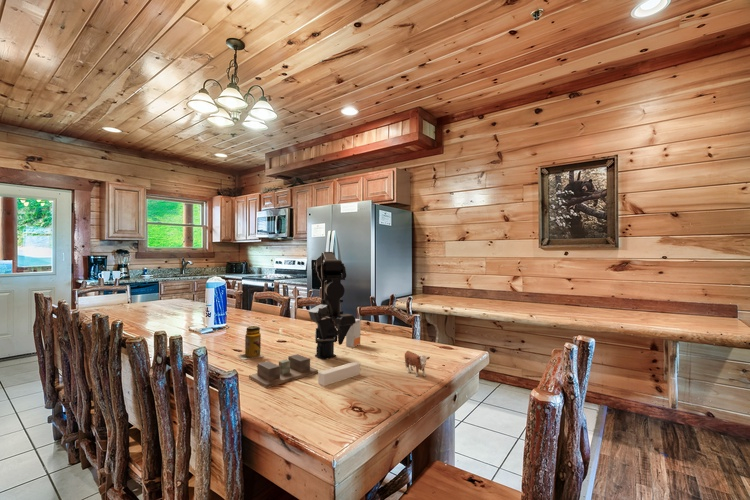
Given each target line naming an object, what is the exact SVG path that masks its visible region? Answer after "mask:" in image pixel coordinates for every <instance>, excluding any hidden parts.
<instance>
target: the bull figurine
mask: <svg viewBox="0 0 750 500" xmlns="http://www.w3.org/2000/svg"><path fill="white" fill-rule="evenodd" d="M430 358H431V357H430V356H426V355H425V354H416V353H415V352H412V351H409V350H406V352H405V353H404V360H405V361H404V365H405V368H406V369H407V373H408V374H411V371H414V369H413V368H415V371H416V373H415V377H417V378H418V377H419V370H420V371H422V376H423V377H424V378H426V377H427V375H426V372H425V371H426V370H425V368H426V367H425V366H426V365H427V364H426V363H427V360H429V359H430Z"/></svg>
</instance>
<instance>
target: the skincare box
mask: <svg viewBox="0 0 750 500" xmlns="http://www.w3.org/2000/svg"><path fill="white" fill-rule="evenodd" d="M361 322H362V321H361V319H359V318H356V323H355V324H353V326H351V327H350V329H349V330H348V332H347V334H346V336H345V346H346V347H350V348H355V347H357V345H358V346H360V345H361V327H362V326H361V324H362V323H361Z"/></svg>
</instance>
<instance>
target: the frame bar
mask: <svg viewBox="0 0 750 500" xmlns="http://www.w3.org/2000/svg"><path fill="white" fill-rule="evenodd" d="M317 374H318V375H317V377H318V378H317V381H318V382H317V383H318V385H320V386H322V387H326V386H329V385H331V384H334V383H338V382H340V381H341V382H342V381H344V380H346V379H349V378H352V377H355V376H359V375H361V363H359V362H357V361H352V362H348V363H345V364H343V365H339V366H335V367H331V368H327V369H325V370H324V369H323V370H321V371H318V373H317Z"/></svg>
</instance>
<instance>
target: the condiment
mask: <svg viewBox="0 0 750 500" xmlns="http://www.w3.org/2000/svg"><path fill="white" fill-rule="evenodd" d="M260 332H261V327H260V326H257V325H256V326H255V325H252V326H248V327H246V332H245V339H244V340H245V341H244V342H245V343H244V345H245V346H244V351H245V353H244V354H238V355H237V356H238V357H239V359H240V360H241V361H242V360H243V361H244V360H250V359H259V358H263V357H264V356H263V355H262V354H261V343H262V342H261V339H262V337H261V335H262V334H261V333H260Z"/></svg>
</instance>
